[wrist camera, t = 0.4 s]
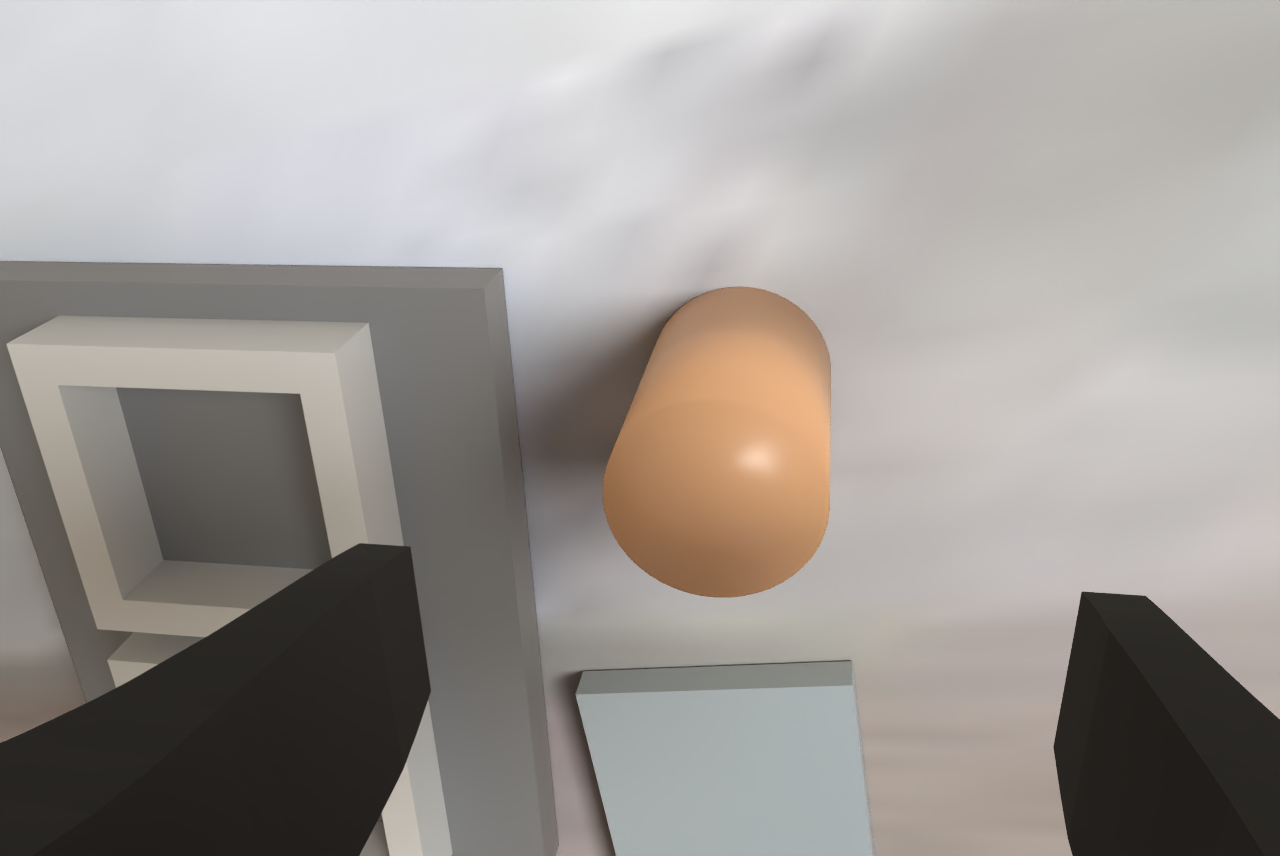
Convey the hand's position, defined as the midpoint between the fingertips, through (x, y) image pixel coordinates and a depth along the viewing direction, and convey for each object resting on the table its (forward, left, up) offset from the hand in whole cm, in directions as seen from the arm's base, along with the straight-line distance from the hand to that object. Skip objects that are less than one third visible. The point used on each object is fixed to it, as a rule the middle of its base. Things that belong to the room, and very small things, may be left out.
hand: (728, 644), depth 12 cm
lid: (-12, +1, -9) cm, 15 cm away
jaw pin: (-1, +1, -9) cm, 9 cm away
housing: (-6, +11, -9) cm, 16 cm away
